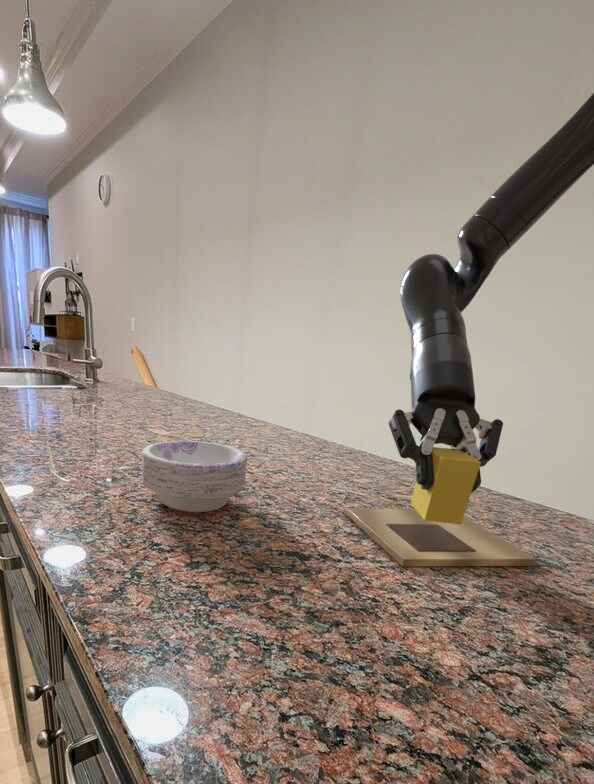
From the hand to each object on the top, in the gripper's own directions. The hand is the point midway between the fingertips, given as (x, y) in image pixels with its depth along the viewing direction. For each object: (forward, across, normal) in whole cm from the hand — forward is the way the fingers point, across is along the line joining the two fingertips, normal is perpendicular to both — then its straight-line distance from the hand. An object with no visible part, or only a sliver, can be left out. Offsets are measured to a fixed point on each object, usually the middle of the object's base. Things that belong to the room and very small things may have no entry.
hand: (449, 488), depth 55 cm
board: (+3, +2, +9) cm, 10 cm away
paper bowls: (+1, -32, +12) cm, 35 cm away
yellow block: (+1, 0, +4) cm, 4 cm away
